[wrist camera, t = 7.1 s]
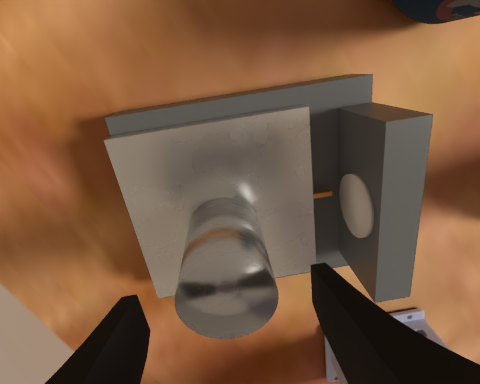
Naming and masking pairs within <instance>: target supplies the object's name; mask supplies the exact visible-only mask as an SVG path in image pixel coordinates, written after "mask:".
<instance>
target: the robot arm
mask: <svg viewBox="0 0 480 384" xmlns="http://www.w3.org/2000/svg"><path fill="white" fill-rule="evenodd" d="M311 283H312V302H313V305H314V308H315V311H316V314H317V317H318V320H319V323H320V326H321V328H322V330H323V332H324V335H325V363H326V379H327V381H328V382H337V381H339V382H340V384H480V365H479V364H477V363H475V362H473V361H471V360H469V359H466V358H464V357H462V356H460V355H458V354H456V353H454V352H452V351H451V350H450V349H449V348H448V347H447V345H446V344H445V343H444V342H443V341H442V339H441V338H440V337H439V336H438V335H437V334H436V332H435V331H434V330H433V329H432V328H431V326H430V325H429V324H428V323H427V322H426V321H425V319H424V316H425V312H424V311H423V310H422V309H413V310H407V311H402V312H396V313H390V314H388V313H387V312H386V311H384V310H383V309H381V308H380V307H379V306H377V305H376V304H375V303H373V302H372V301H371V300H369V299H368V298H367V297H366V296H364V295H363V294H362V293H361V292H359V291H358V290H357V289H356V288H354V287H353V286H352V285H351V284H350V283H348V282H347V281H346V280H345V279H344V278H343V277H341V276H340V275H339V274H338V273H337V272H336V271H335V270H334V269H332V268H331V267H330V266H329V265H328V264H327V263H325V262H324V263H319V264H313V265H311ZM149 337H150V328H149V326H148V323H147V320H146V318H145V315H144V312H143V310H142V307H141V304H140V302H139V299H138V296H137V295H131V296H125V297H122V298H121V299H120V300H119V301H118V302H117V303H116V304H115V306H114V307H113V308H112V309H111V310H110V312H109V313H108V314H107V315H106V316H105V318H104V319H103V320H102V321H101V323H100V324H99V325H98V326H97V327H96V328H95V330H94V331H93V332H92V333H91V334H90V335H89V337H88V338H87V339H86V340H85V341H84V342H83V344H82V345H81V346H80V347H79V348H78V349H77V350H76V351H75V352H74V353H73V355H72V356H71V357H70V358H69V359H68V360H67V361H66V362H65V363H64V364H63V365H62V367H61V368H60V369H59V370H58V371H57V372H56V373H55V374H54V375H53V376H52V377H51V378H50V379H49V380H48V381H47V382H46V383H45V384H140V382H141V378H142V374H143V370H144V366H145V362H146V358H147V352H148V345H149Z"/></svg>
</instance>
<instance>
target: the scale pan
mask: <svg viewBox="0 0 480 384" xmlns="http://www.w3.org/2000/svg"><path fill="white" fill-rule="evenodd" d="M104 143H105V146H106V149H107V152H108V155H109V158H110V160H111V163H112V166H113V169H114V172H115V175H116V178H117V181H118V184H119V186H120V189H121V192H122V195H123V198H124V201H125V204H126V207H127V210H128V212H129V215H130V218H131V221H132V224H133V227H134V230H135V233H136V236H137V238H138V241H139V244H140V247H141V250H142V253H143V256H144V259H145V262H146V264H147V267H148V270H149V273H150V276H151V279H152V282H153V285H154V288H155V290H156V293H157V296H158V298H162V297H168V296H174V295H175V293H176V288H177V283H178V278H179V273H180V268H181V263H182V258H183V253H184V248H185V243H186V238H187V233H188V227H189V223H190V219H191V217H192V215H193V214H194V212H195V211H196V210H197V208H199V207H200V206H201V205H202V204H204V203H205V202H207V201H209V200H212V199H216V198H222V197H228V198H234V199H238V200H240V201H243V202H244V203H246V204H247V205H249V206H250V207H251V208H252V209H253V210H254V212H255V213H256V215H257V217H258V220H259V223H260V227H261V230H262V234H263V238H264V241H265V245H266V249H267V252H268V256H269V260H270V263H271V267H272V271H273V275H274V278H277V277H282V276H288V275H294V274H299V273H305V272H311V265H313V264H316V247H315V225H314V204H313V199H316V198H322V197H328V196H332V191H331V190H330V189H326V190H320V191H314V192H313V182H312V160H311V138H310V116H309V106H306V105H298V106H292V107H286V108H280V109H274V110H268V111H261V112H255V113H249V114H243V115H237V116H231V117H225V118H219V119H213V120H206V121H200V122H194V123H188V124H182V125H176V126H170V127H164V128H157V129H151V130H145V131H139V132H133V133H127V134H121V135H115V136H110V137H108V138H106V139H105V140H104Z"/></svg>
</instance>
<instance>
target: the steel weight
mask: <svg viewBox="0 0 480 384" xmlns="http://www.w3.org/2000/svg"><path fill="white" fill-rule="evenodd" d="M277 304H278V290H277V286H276V282H275V278H274V275H273V271H272V267H271V263H270V260H269V256H268V252H267V249H266V245H265V241H264V238H263V234H262V230H261V227H260V223H259V220H258V217H257V215H256V213H255V212H254V210H253V209H252V208H251V207H250V206H249V205H247V204H246V203H244V202H243V201H240V200H238V199H234V198H228V197H222V198H216V199H212V200H209V201H207V202H205V203H204V204H202V205H201V206H200V207H199V208H197V210H196V211H195V212H194V214H193V215H192V217H191V219H190V223H189V227H188V233H187V238H186V243H185V248H184V253H183V258H182V263H181V268H180V273H179V278H178V283H177V288H176V293H175V308H176V311H177V314H178V316H179V317H180V319H181V320H182V321H183V323H184V324H185V325H186V326H187V327H189V328H190V329H191V330H193V331H195V332H196V333H198V334H201V335H203V336H207V337H210V338H216V339H232V338H238V337H242V336H245V335H248V334H250V333H253V332H255V331H256V330H258V329H259V328H261V327H262V326H264V325H265V324H266V323H267V322H268V321H269V320H270V318H271V317H272V316H273V314H274V312H275V310H276V308H277Z"/></svg>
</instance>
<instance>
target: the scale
mask: <svg viewBox="0 0 480 384" xmlns="http://www.w3.org/2000/svg"><path fill="white" fill-rule="evenodd" d="M372 82H373V74H350V75H343V76H337V77H331V78H325V79H319V80H312V81H306V82H300V83H294V84H288V85H282V86H275V87H269V88H263V89H257V90H251V91H244V92H238V93H232V94H226V95H220V96H214V97H207V98H201V99H195V100H189V101H183V102H177V103H170V104H164V105H158V106H152V107H146V108H139V109H133V110H127V111H121V112H117V113H115V114H112V115H110V116H108V117H105V121H106V124H107V127H108V130H109V133H110V136H115V135H121V134H127V133H133V132H139V131H145V130H151V129H157V128H164V127H170V126H176V125H182V124H188V123H194V122H200V121H206V120H213V119H219V118H225V117H231V116H237V115H243V114H249V113H255V112H261V111H268V110H274V109H280V108H286V107H292V106H298V105H306V106H309V116H310V138H311V160H312V182H313V192H314V191H320V190H326V189H330V190H331V191H332V196H328V197H322V198H316V199H313V204H314V225H315V247H316V264H319V263H324V262H325V263H327V264H328V265H329V266H330V267H331V268H337V267H342V266H348V265H349V266H350V268H351V269H352V270H353V272H354V273H355V275H356V276H357V278H358V279H359V281H360V282H361V283H362V285H363V286H364V288H365V289H366V291H367V292H368V293H369V295H370V296H371V298H372V299H373V301H374V302H375V303H377V302H382V301H388V300H393V299H399V298H405V297H410V293H411V285H412V277H413V269H414V261H415V254H416V246H417V238H418V230H419V222H420V214H421V206H422V199H423V191H424V183H425V175H426V167H427V159H428V151H429V144H430V136H431V128H432V120H433V114H429V113H424V112H419V111H413V110H408V109H403V108H398V107H393V106H388V105H383V104H378V103H373V102H372ZM305 273H308V272H305ZM299 274H302V273H299ZM294 275H297V274H294ZM288 276H291V275H288ZM282 277H285V276H282ZM277 278H280V277H277ZM174 296H175V295H174ZM168 297H171V296H168ZM164 298H165V297H164Z"/></svg>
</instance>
